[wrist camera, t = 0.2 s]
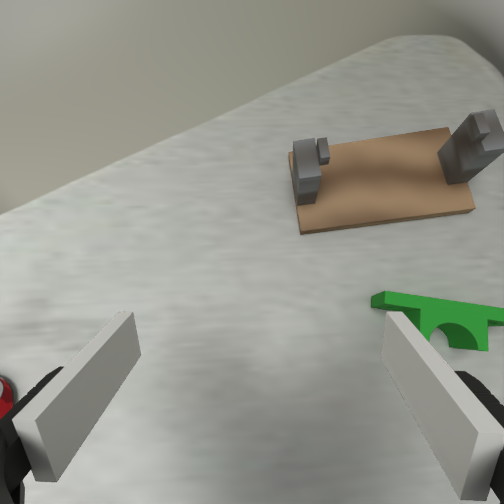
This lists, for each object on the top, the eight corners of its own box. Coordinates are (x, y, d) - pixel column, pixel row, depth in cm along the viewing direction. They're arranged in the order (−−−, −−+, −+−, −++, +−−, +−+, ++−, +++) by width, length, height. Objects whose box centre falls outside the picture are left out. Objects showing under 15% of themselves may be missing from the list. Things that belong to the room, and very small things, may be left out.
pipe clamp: (368, 333, 29) (382, 333, 24) (370, 296, 30) (384, 290, 25) (492, 354, 27) (531, 358, 22) (490, 314, 28) (528, 311, 23)
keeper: (468, 212, 30) (534, 170, 22) (300, 234, 32) (305, 202, 24) (442, 134, 33) (492, 71, 25) (288, 157, 35) (289, 106, 27)
